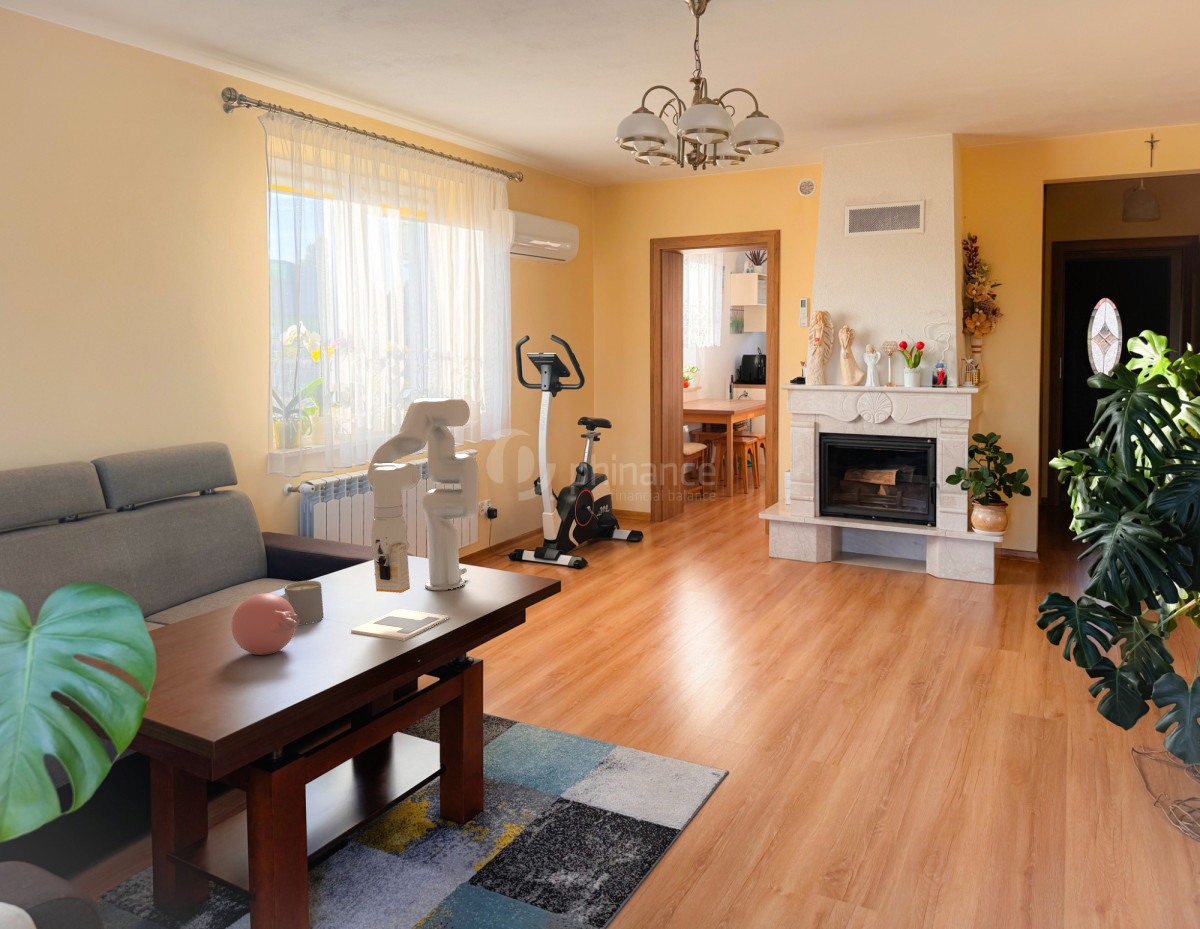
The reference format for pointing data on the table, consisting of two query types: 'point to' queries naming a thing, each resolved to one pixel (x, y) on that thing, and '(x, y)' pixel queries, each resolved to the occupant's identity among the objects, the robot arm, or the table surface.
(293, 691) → the table surface
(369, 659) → the table surface
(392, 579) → the supplement box
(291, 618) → the balloon
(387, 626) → the board
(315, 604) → the coffee mug
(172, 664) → the table surface
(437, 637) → the table surface
